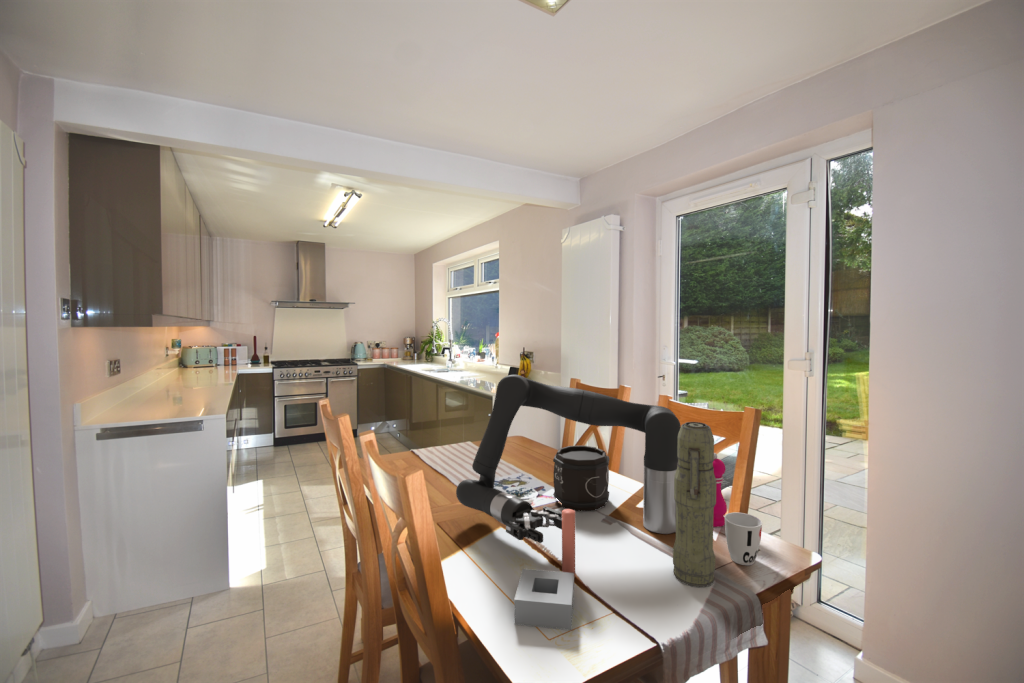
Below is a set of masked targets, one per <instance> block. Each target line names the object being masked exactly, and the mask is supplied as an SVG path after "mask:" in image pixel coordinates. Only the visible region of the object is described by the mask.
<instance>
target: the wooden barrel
mask: <svg viewBox="0 0 1024 683" xmlns="http://www.w3.org/2000/svg"><path fill="white" fill-rule="evenodd" d="M552 461H553V464H554V465H553V490H554V492H553V494H552V496H553V498H555V499H556V498H557V499H558V500H559V501H560V502H561V503H562V506H561V508H563V509H572V510H574V511H575V512H594V511H597V510H599V509H601V508H604V507H606V503H608V502H609V499H610V498H609V497H610V491H609V490H608V489H609V482H610V481H609V480H610V478H609V476H610V474H609V473H610V469H609V468H610V467H609V464H610V456H609V455H607V452H606V451H605V450H604V449H600V448H599V447H598V448H597V447H595V446H589V445H568V446H565V447H560V448H558V450H557V451H556V453H555V455H554V457H553V460H552Z"/></svg>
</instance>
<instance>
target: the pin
mask: <svg viewBox="0 0 1024 683" xmlns="http://www.w3.org/2000/svg"><path fill="white" fill-rule="evenodd" d="M561 513H562V530H561V572H569V573H574V578H576V511H575V510H572V509H567V508H563V509H562V510H561Z"/></svg>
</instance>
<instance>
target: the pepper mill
mask: <svg viewBox="0 0 1024 683" xmlns="http://www.w3.org/2000/svg"><path fill="white" fill-rule="evenodd" d="M713 467H714V475H715V478H716V504H715V506H714V512H713V528H719V527H725V515H726V514H727V512H728V506H727V501H726V500H725V497H724V496H723V491H722V483H723V482H724V476H723V475H724V474H725V473H726V465H725V463H724V461H722V460H721V459H719V458H718V454H717V453H716V452H714V461H713Z"/></svg>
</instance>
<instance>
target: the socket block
mask: <svg viewBox="0 0 1024 683" xmlns="http://www.w3.org/2000/svg"><path fill="white" fill-rule="evenodd" d="M574 601H575V577H574V573H569V572H562V571H556V570H555V571H554V570H546V569H545V570H544V569H542V570H541V569H530V568H522V571H521V574H520V578H519V581H518V584H517V589H516V592H515V595H514V600H513V603H514V604H513V605H514V609H513V610H514V625H519V626H527V627H529V626H530V627H537V628H547V629H549V628H550V629H557V630H565V631H567V630H568V631H573V630H572V629H573V616H574V603H575V602H574Z"/></svg>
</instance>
